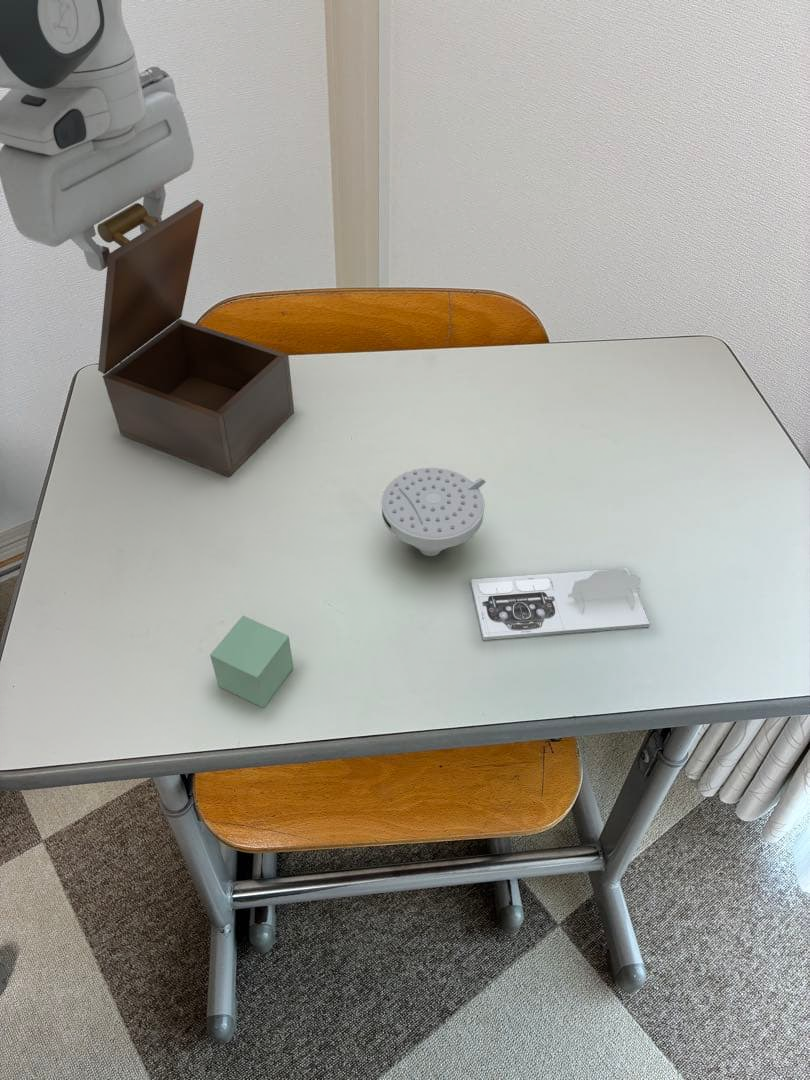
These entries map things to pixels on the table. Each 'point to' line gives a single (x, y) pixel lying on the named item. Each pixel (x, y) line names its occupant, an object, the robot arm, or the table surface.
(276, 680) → the soap block
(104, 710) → the table surface
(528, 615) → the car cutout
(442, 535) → the showerhead
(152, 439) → the chest
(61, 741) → the table surface
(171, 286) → the lid
